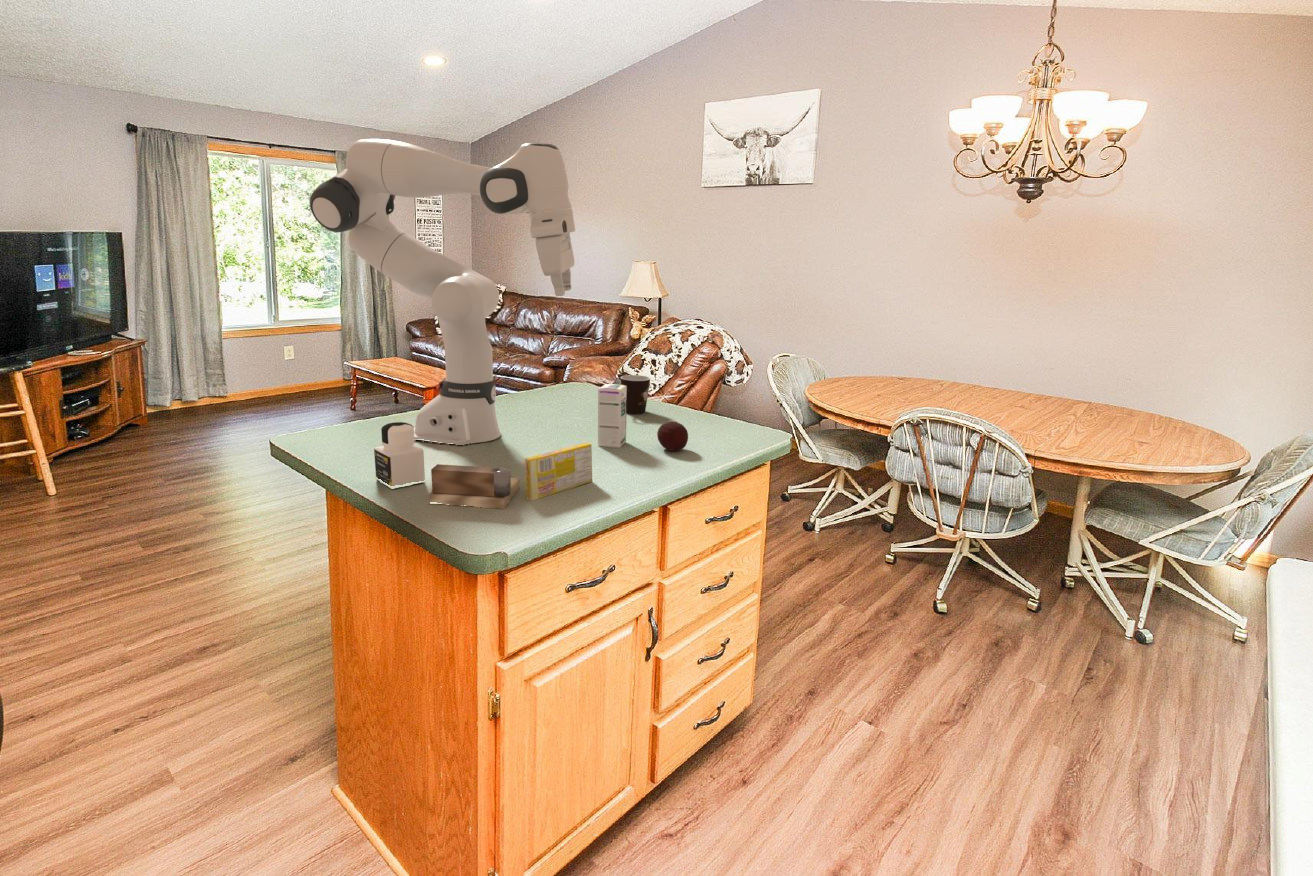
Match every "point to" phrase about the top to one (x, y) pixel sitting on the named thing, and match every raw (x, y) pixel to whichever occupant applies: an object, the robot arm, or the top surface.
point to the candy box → (558, 470)
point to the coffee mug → (636, 393)
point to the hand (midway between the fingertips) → (564, 292)
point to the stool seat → (476, 498)
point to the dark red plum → (672, 436)
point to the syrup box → (612, 415)
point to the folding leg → (471, 480)
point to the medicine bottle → (399, 455)
